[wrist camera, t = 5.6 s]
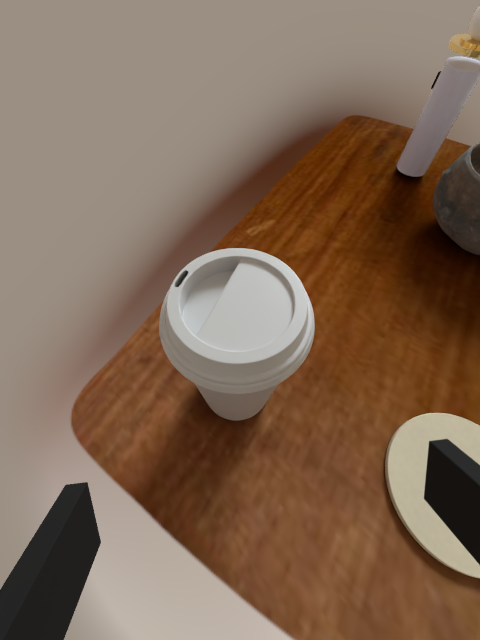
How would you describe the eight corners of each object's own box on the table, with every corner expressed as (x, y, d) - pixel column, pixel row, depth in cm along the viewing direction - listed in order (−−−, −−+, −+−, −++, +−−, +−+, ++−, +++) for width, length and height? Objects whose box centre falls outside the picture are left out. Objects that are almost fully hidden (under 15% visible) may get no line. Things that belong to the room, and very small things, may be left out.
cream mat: (436, 602, 22) (441, 604, 21) (360, 432, 28) (363, 431, 27) (571, 549, 23) (579, 550, 23) (472, 400, 29) (476, 398, 29)
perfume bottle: (428, 186, 47) (538, 5, 30) (390, 180, 48) (477, -1, 31) (426, 165, 50) (525, -11, 33) (390, 160, 51) (469, -15, 34)
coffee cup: (237, 327, 33) (239, 217, 20) (304, 388, 30) (357, 300, 17) (168, 385, 30) (116, 296, 17) (235, 462, 26) (234, 423, 13)
